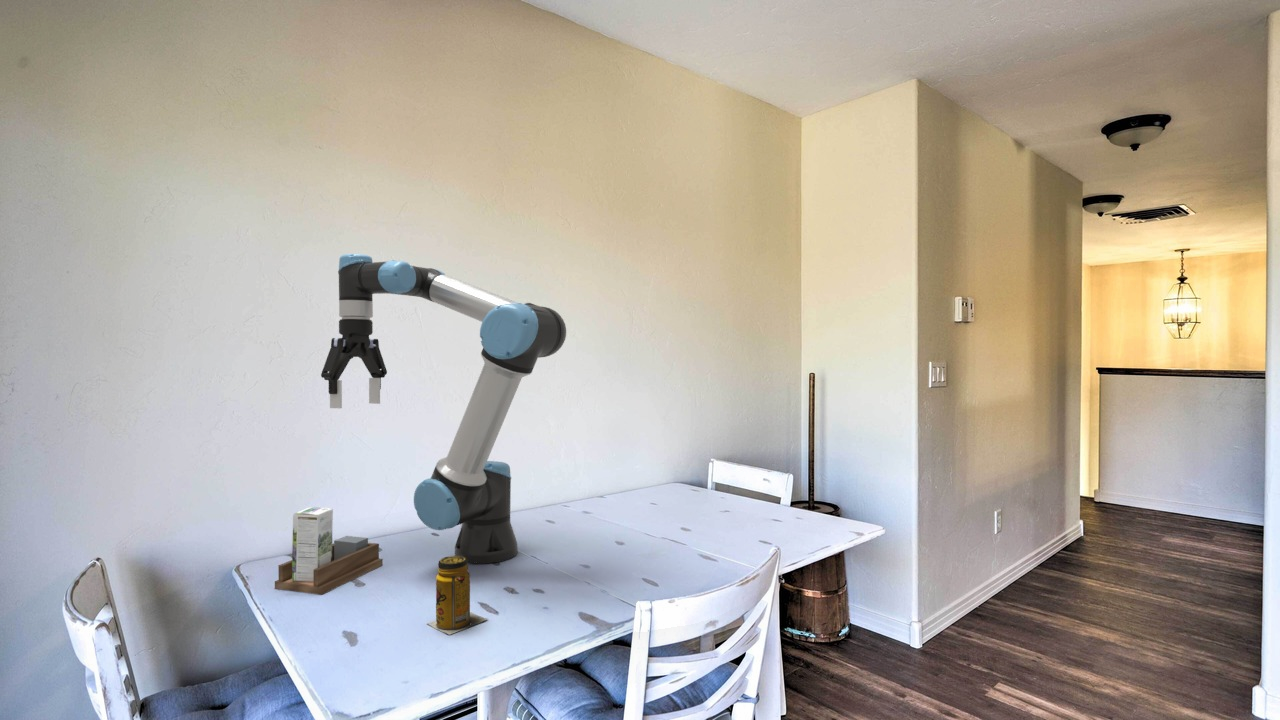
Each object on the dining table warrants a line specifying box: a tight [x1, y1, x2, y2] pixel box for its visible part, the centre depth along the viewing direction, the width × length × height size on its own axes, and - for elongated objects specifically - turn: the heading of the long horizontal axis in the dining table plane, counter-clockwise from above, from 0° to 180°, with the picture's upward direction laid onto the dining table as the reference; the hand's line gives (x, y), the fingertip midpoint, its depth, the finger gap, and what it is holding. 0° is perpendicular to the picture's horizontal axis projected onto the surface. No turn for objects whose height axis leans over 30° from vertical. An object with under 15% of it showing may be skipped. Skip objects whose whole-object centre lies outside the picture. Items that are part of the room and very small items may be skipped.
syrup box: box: [291, 506, 334, 582], centre depth 139 cm, size 6×6×14 cm
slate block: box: [333, 535, 369, 561], centre depth 150 cm, size 6×4×5 cm, turn 74°
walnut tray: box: [274, 542, 383, 596], centre depth 144 cm, size 12×19×5 cm, turn 164°
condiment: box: [426, 555, 488, 636], centre depth 120 cm, size 7×8×12 cm
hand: (356, 405), depth 158 cm, fingers open, 13 cm apart
